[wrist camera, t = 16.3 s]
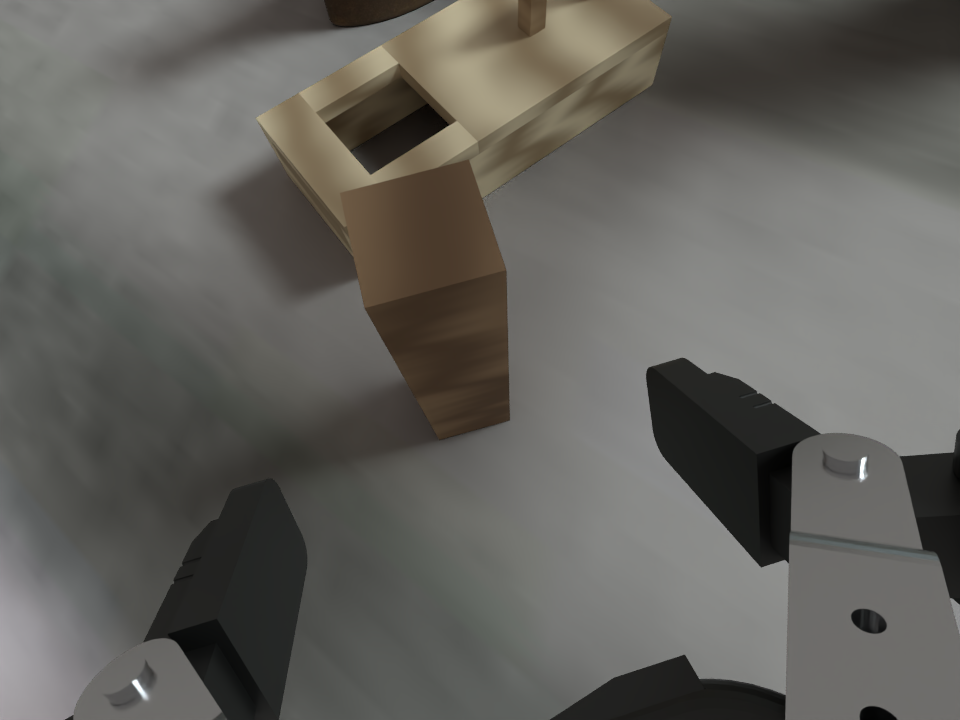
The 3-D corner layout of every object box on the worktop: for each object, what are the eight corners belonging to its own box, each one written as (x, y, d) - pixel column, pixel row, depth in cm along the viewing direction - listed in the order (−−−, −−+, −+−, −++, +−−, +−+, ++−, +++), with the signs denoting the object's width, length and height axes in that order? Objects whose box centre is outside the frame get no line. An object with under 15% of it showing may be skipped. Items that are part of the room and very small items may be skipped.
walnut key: (490, 355, 31) (469, 159, 16) (509, 420, 30) (506, 270, 15) (422, 373, 31) (339, 193, 16) (439, 440, 30) (364, 308, 15)
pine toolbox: (559, 10, 41) (572, -150, 32) (652, 84, 38) (696, -69, 29) (288, 175, 37) (214, 44, 28) (367, 275, 34) (313, 165, 24)
